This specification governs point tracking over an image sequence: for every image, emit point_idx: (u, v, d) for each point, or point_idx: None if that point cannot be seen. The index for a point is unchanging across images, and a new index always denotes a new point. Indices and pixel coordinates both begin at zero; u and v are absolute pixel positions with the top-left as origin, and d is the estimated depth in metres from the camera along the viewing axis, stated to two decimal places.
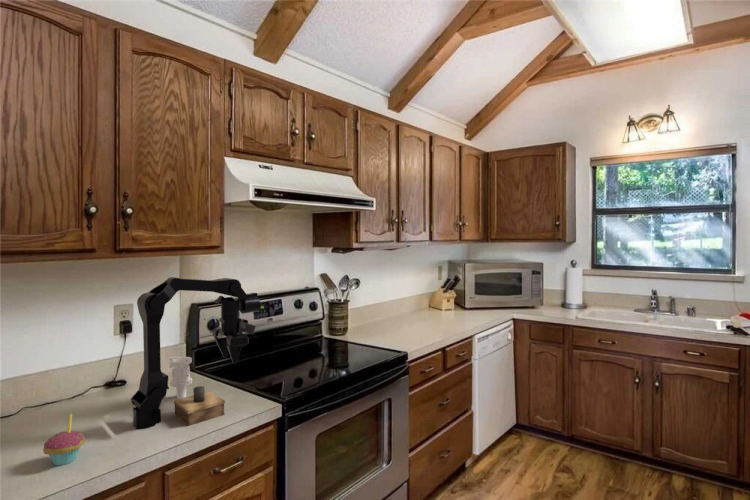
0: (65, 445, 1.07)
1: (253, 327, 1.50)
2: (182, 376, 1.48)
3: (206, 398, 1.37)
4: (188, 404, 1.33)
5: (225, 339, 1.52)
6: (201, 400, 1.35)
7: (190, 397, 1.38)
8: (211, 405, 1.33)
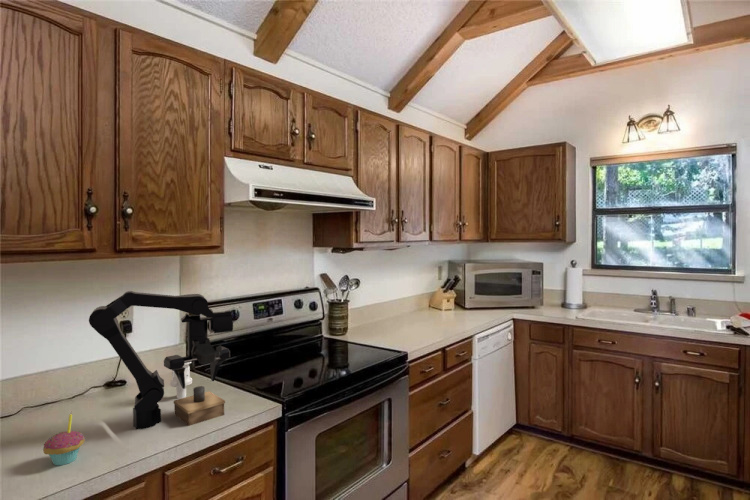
0: (65, 445, 1.07)
1: (200, 356, 1.28)
2: None
3: (206, 398, 1.37)
4: (188, 404, 1.33)
5: None
6: (201, 400, 1.35)
7: (190, 397, 1.38)
8: (211, 405, 1.33)
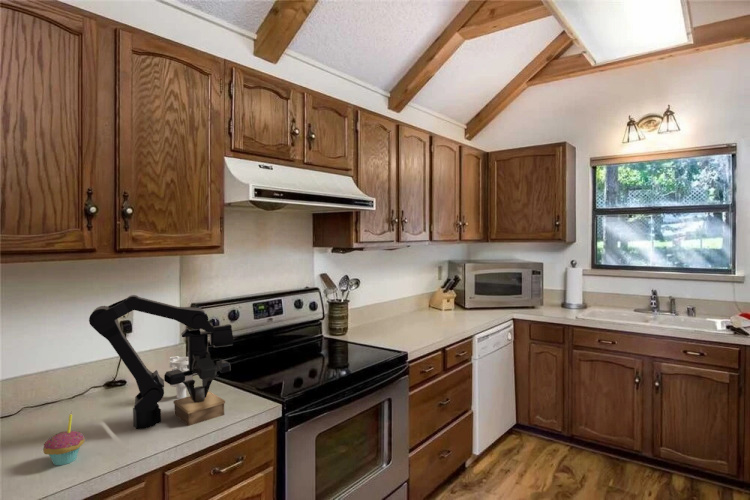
0: (65, 445, 1.07)
1: (200, 371, 1.28)
2: None
3: (206, 398, 1.37)
4: (188, 404, 1.33)
5: None
6: (201, 400, 1.35)
7: (190, 397, 1.38)
8: (211, 405, 1.33)
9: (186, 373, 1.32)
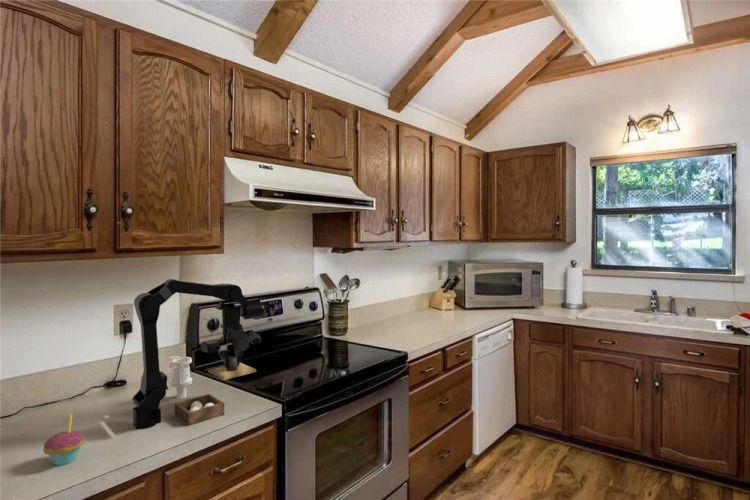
0: (65, 445, 1.07)
1: (235, 340, 1.38)
2: (182, 376, 1.48)
3: (238, 367, 1.47)
4: (223, 372, 1.42)
5: (238, 347, 1.46)
6: (234, 369, 1.44)
7: (223, 367, 1.48)
8: (244, 373, 1.42)
9: (221, 343, 1.42)
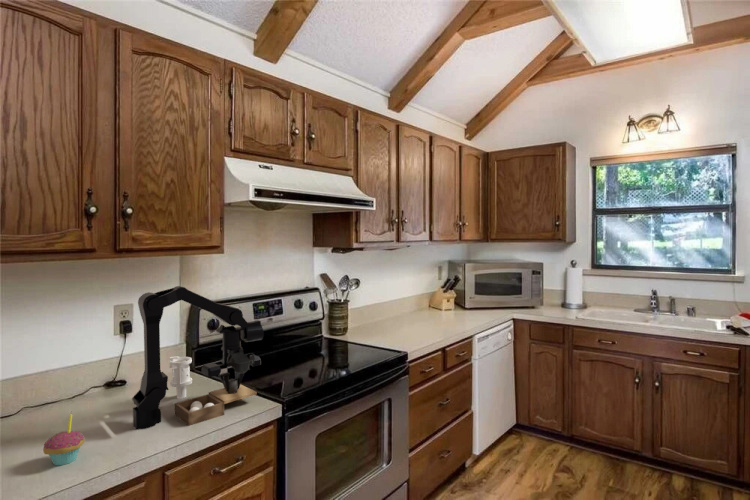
0: (65, 445, 1.07)
1: (235, 364, 1.38)
2: (182, 376, 1.48)
3: (239, 390, 1.47)
4: (223, 395, 1.43)
5: None
6: (235, 391, 1.45)
7: (223, 389, 1.48)
8: (244, 396, 1.43)
9: (221, 366, 1.42)
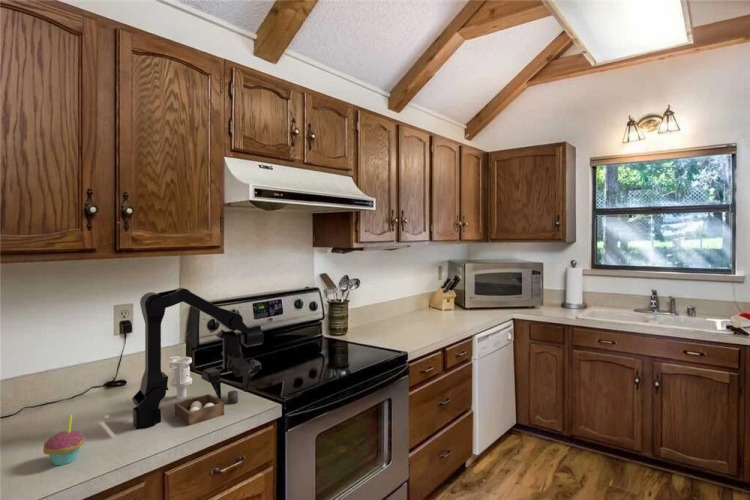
0: (65, 445, 1.07)
1: (236, 369, 1.38)
2: (182, 376, 1.48)
3: None
4: None
5: None
6: None
7: None
8: None
9: (221, 371, 1.42)
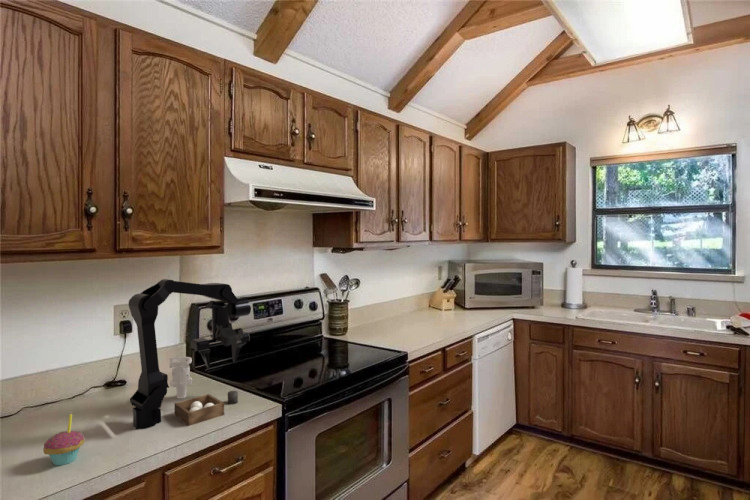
0: (65, 445, 1.07)
1: (224, 338, 1.41)
2: (182, 376, 1.48)
3: None
4: None
5: (235, 344, 1.52)
6: None
7: None
8: None
9: (210, 341, 1.45)
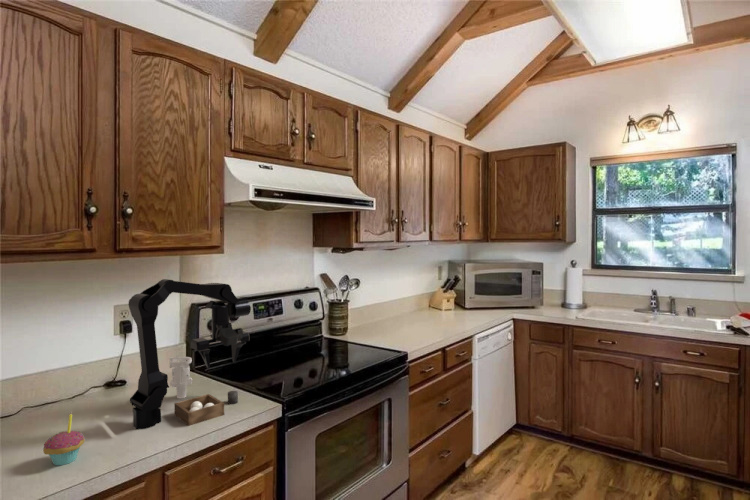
0: (65, 445, 1.07)
1: (224, 338, 1.41)
2: (182, 376, 1.48)
3: None
4: None
5: (235, 344, 1.52)
6: None
7: None
8: None
9: (210, 341, 1.45)
